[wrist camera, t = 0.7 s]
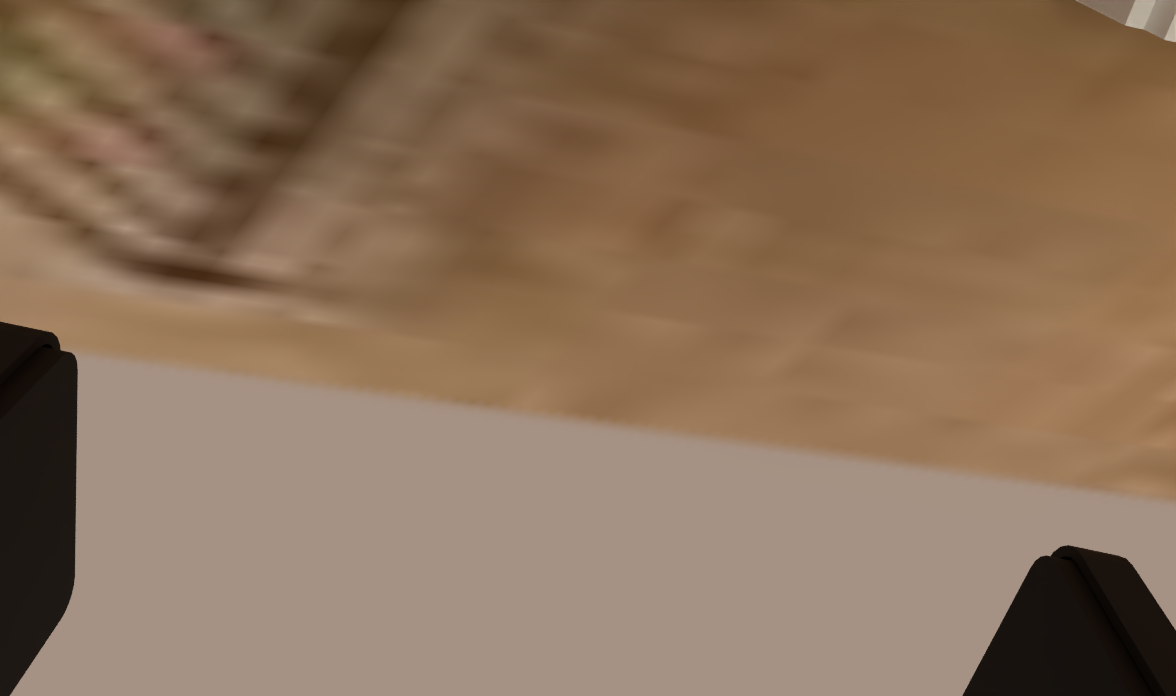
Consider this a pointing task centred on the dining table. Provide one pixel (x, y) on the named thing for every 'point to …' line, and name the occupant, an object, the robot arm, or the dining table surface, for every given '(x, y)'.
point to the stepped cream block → (1140, 14)
